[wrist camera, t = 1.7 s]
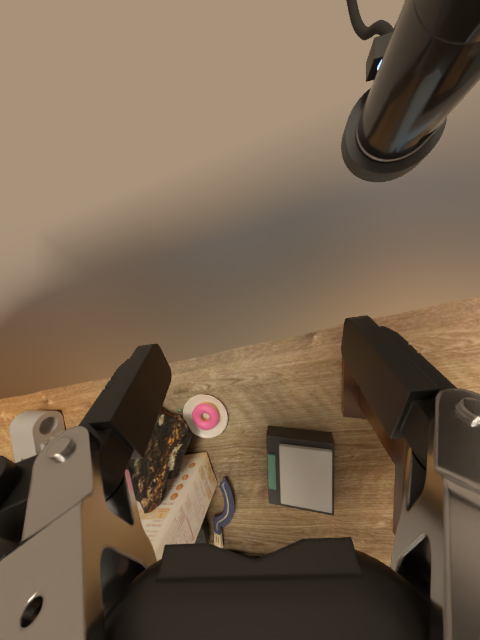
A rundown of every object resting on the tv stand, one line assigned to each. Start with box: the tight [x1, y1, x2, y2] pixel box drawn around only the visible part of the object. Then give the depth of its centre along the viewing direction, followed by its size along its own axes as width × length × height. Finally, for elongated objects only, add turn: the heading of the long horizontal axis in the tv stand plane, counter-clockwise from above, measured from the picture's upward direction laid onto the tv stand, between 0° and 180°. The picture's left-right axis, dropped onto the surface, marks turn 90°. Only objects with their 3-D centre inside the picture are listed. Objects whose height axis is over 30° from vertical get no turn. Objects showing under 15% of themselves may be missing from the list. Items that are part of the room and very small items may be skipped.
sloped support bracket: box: [9, 410, 65, 463], centre depth 45 cm, size 6×18×8 cm
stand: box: [342, 356, 410, 536], centre depth 22 cm, size 9×9×18 cm
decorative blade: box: [214, 477, 234, 548], centre depth 39 cm, size 21×1×5 cm
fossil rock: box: [127, 408, 193, 513], centre depth 36 cm, size 14×14×6 cm
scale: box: [266, 426, 334, 516], centre depth 33 cm, size 12×10×3 cm
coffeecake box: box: [136, 452, 217, 561], centre depth 31 cm, size 15×7×20 cm, turn 109°
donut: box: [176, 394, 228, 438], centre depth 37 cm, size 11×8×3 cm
